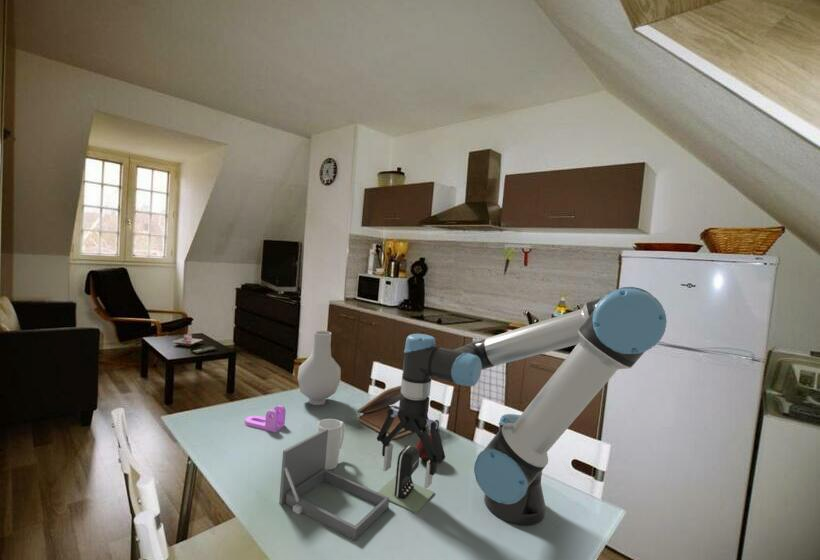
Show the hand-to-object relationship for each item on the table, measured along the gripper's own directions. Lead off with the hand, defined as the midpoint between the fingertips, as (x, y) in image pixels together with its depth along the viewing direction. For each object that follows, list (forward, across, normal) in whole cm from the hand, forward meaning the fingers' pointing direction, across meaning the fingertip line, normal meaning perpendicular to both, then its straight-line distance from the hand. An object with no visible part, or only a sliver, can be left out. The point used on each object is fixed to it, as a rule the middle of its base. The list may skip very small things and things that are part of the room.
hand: (407, 476), depth 103 cm
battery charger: (+4, 0, 0) cm, 4 cm away
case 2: (+5, +25, -35) cm, 43 cm away
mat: (+5, 0, 0) cm, 5 cm away
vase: (+5, +58, -31) cm, 66 cm away
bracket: (+5, +58, -4) cm, 58 cm away
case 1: (+5, +11, +14) cm, 18 cm away
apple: (+5, +3, -19) cm, 20 cm away
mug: (+5, +25, 0) cm, 25 cm away
